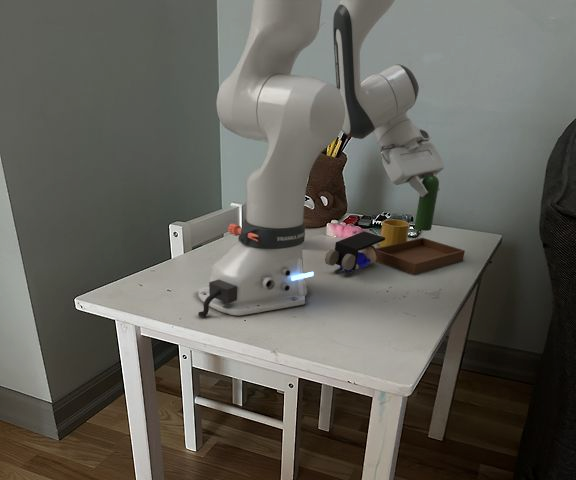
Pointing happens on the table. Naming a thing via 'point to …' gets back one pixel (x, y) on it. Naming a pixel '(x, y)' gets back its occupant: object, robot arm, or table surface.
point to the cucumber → (427, 204)
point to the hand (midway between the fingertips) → (431, 193)
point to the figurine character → (354, 252)
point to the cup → (394, 232)
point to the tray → (419, 255)
